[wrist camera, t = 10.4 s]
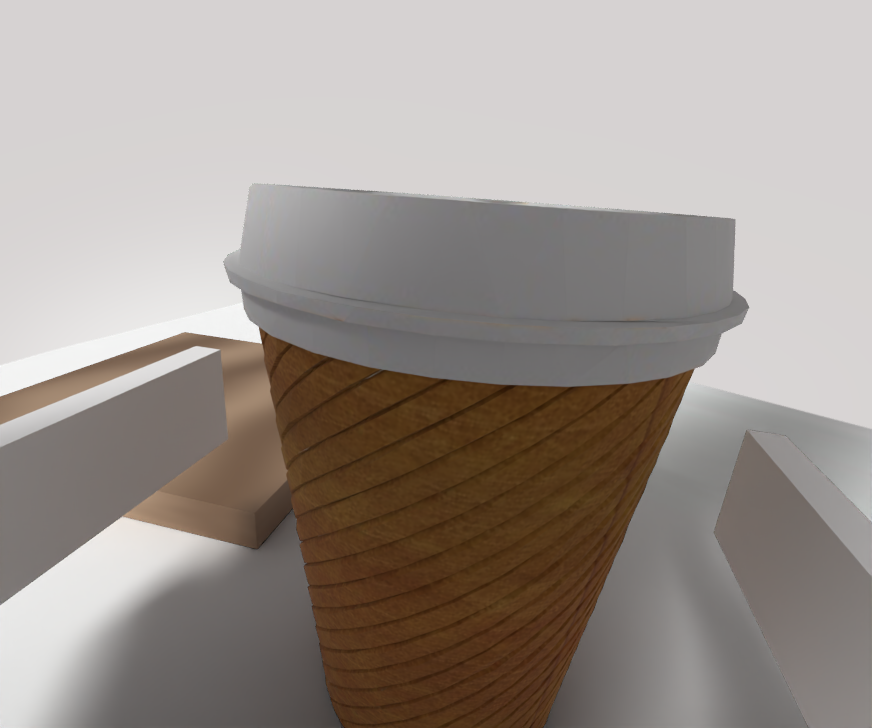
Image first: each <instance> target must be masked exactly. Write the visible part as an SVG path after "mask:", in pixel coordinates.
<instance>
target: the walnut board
mask: <svg viewBox="0 0 872 728" xmlns="http://www.w3.org/2000/svg"><path fill="white" fill-rule="evenodd" d="M195 346H199V347H206V348H212V349H219V350H220V351H221V362H222V374H223V385H224V397H225V408H226V419H227V431H228V440H226V441H225V442H224V443H222V444H221V445H219V446H218V447H217V448H215V449H214V450H213V451H211V452H210V453H208V454H207V455H206V456H204V457H203V458H202V459H200V460H199V461H197V462H196V463H195V464H193V465H192V466H191V467H189V468H188V469H186V470H185V471H184V472H182V473H181V474H180V475H178V476H177V477H176V478H174V479H173V480H171V481H170V482H169V483H167V484H166V485H165V486H163V487H162V488H160V489H159V490H158V491H156V492H155V493H154V494H152V495H151V496H149V497H148V498H147V499H145V500H144V501H143V502H141V503H140V504H138V505H137V506H136V507H134V508H133V509H132V510H130V511H129V512H127V513H126V514H125V515H123V517H128V518H132V519H136V520H140V521H144V522H148V523H152V524H156V525H160V526H164V527H168V528H172V529H177V530H181V531H185V532H189V533H193V534H197V535H201V536H205V537H209V538H213V539H217V540H221V541H225V542H230V543H234V544H238V545H242V546H246V547H250V548H254V549H258V548H259V547H260V546H261V544H262V543H263V542H264V541H265V540H266V539H267V537H268V536H269V535H270V534H271V533H272V532H273V531H274V529H275V528H276V527H277V526H278V525H279V524H280V522H281V521H282V520H283V519H284V518H285V517H286V515H287V514H288V513H289V512H290V511H291V510H292V509H293V506H292V503H291V497H292V495H291V492H290V488H289V484H288V480H287V477H286V474H287V471H288V470H287V469H286V467H285V463H284V459H283V455H282V451H281V447H282V444H281V440H280V436H279V432H278V428H277V424H276V413H275V409H274V405H273V401H272V397H271V393H270V388H271V386H270V382H269V378H268V374H267V370H266V366H265V362H264V350H263V345H262V344H260V343H253V342H246V341H240V340H233V339H226V338H220V337H213V336H206V335H200V334H193V333H186V332H184V333H181V334H179V335H176V336H173V337H170V338H167V339H164V340H161V341H159V342H156V343H153V344H150V345H147V346H144V347H141V348H138V349H136V350H133V351H130V352H127V353H124V354H121V355H118V356H116V357H113V358H110V359H107V360H104V361H101V362H98V363H95V364H93V365H90V366H87V367H84V368H81V369H78V370H75V371H73V372H70V373H67V374H64V375H61V376H58V377H55V378H53V379H50V380H47V381H44V382H41V383H38V384H35V385H32V386H30V387H27V388H24V389H21V390H18V391H15V392H12V393H10V394H7V395H4V396H1V397H0V425H1V424H3V423H6V422H8V421H11V420H13V419H16V418H18V417H21V416H23V415H26V414H28V413H31V412H33V411H36V410H38V409H41V408H43V407H46V406H48V405H51V404H53V403H56V402H58V401H60V400H63V399H65V398H68V397H70V396H73V395H75V394H78V393H80V392H83V391H85V390H88V389H90V388H93V387H95V386H98V385H100V384H103V383H105V382H108V381H110V380H113V379H115V378H118V377H120V376H123V375H125V374H128V373H130V372H133V371H135V370H138V369H140V368H142V367H145V366H147V365H150V364H152V363H155V362H157V361H160V360H162V359H165V358H167V357H170V356H172V355H175V354H177V353H180V352H182V351H185V350H187V349H190V348H192V347H195Z"/></svg>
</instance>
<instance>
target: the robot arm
mask: <svg viewBox="0 0 872 728" xmlns="http://www.w3.org/2000/svg"><path fill="white" fill-rule="evenodd" d="M226 440H228V431H227V419H226V408H225V397H224V385H223V374H222V362H221V351H220V350H219V349H212V348H206V347H199V346H195V347H192V348H190V349H187V350H185V351H182V352H180V353H177V354H175V355H172V356H170V357H167V358H165V359H162V360H160V361H157V362H155V363H152V364H150V365H147V366H145V367H142V368H140V369H138V370H135V371H133V372H130V373H128V374H125V375H123V376H120V377H118V378H115V379H113V380H110V381H108V382H105V383H103V384H100V385H98V386H95V387H93V388H90V389H88V390H85V391H83V392H80V393H78V394H75V395H73V396H70V397H68V398H65V399H63V400H60V401H58V402H56V403H53V404H51V405H48V406H46V407H43V408H41V409H38V410H36V411H33V412H31V413H28V414H26V415H23V416H21V417H18V418H16V419H13V420H11V421H8V422H6V423H3V424H1V425H0V605H1V604H3V603H4V602H5V601H7V600H8V599H9V598H11V597H12V596H13V595H15V594H16V593H18V592H19V591H20V590H22V589H23V588H24V587H26V586H27V585H29V584H30V583H31V582H33V581H34V580H35V579H37V578H38V577H40V576H41V575H42V574H44V573H45V572H46V571H48V570H49V569H51V568H52V567H53V566H55V565H56V564H57V563H59V562H60V561H62V560H63V559H64V558H66V557H67V556H68V555H70V554H71V553H73V552H74V551H75V550H77V549H78V548H79V547H81V546H82V545H84V544H85V543H86V542H88V541H89V540H90V539H92V538H93V537H95V536H96V535H97V534H99V533H100V532H101V531H103V530H104V529H105V528H107V527H108V526H110V525H111V524H112V523H114V522H115V521H116V520H118V519H119V518H121V517H122V516H123V515H125V514H126V513H127V512H129V511H130V510H132V509H133V508H134V507H136V506H137V505H138V504H140V503H141V502H143V501H144V500H145V499H147V498H148V497H149V496H151V495H152V494H154V493H155V492H156V491H158V490H159V489H160V488H162V487H163V486H165V485H166V484H167V483H169V482H170V481H171V480H173V479H174V478H176V477H177V476H178V475H180V474H181V473H182V472H184V471H185V470H186V469H188V468H189V467H191V466H192V465H193V464H195V463H196V462H197V461H199V460H200V459H202V458H203V457H204V456H206V455H207V454H208V453H210V452H211V451H213V450H214V449H215V448H217V447H218V446H219V445H221V444H222V443H224V442H225V441H226ZM714 534H715V536H716V538H717V540H718V542H719V544H720V546H721V548H722V550H723V552H724V554H725V556H726V559H727V561H728V563H729V565H730V567H731V569H732V571H733V573H734V575H735V577H736V579H737V581H738V583H739V585H740V587H741V590H742V592H743V594H744V596H745V598H746V600H747V602H748V604H749V606H750V608H751V610H752V612H753V614H754V616H755V618H756V620H757V623H758V625H759V627H760V629H761V631H762V633H763V635H764V637H765V639H766V641H767V643H768V645H769V647H770V649H771V651H772V654H773V656H774V658H775V660H776V662H777V664H778V666H779V668H780V670H781V672H782V674H783V676H784V678H785V680H786V682H787V684H788V687H789V689H790V691H791V693H792V695H793V697H794V699H795V701H796V703H797V705H798V707H799V709H800V711H801V713H802V715H803V718H804V720H805V722H806V724H807V726H808V728H872V522H871V521H870V520H869V519H868V518H867V517H866V516H865V515H864V514H863V513H862V512H861V511H860V510H859V509H858V508H857V507H856V506H855V505H854V504H853V503H852V502H851V501H850V500H849V499H848V498H847V497H846V496H845V495H844V494H843V493H842V492H841V491H840V490H839V489H838V488H837V487H836V486H835V485H834V484H833V483H832V482H831V481H830V480H829V479H828V478H827V477H826V476H825V475H824V474H823V473H822V472H821V471H820V470H819V469H818V468H817V467H816V466H815V465H814V464H813V463H812V462H811V461H810V460H809V459H808V458H807V457H806V456H805V455H804V454H803V453H802V452H801V451H800V450H799V449H798V448H797V447H796V446H795V445H794V444H793V443H792V442H791V441H790V440H789V439H788V438H787V437H786V436H785V435H779V434H773V433H766V432H760V431H753V430H746V433H745V437H744V440H743V443H742V446H741V449H740V452H739V455H738V458H737V461H736V465H735V468H734V471H733V474H732V477H731V480H730V483H729V486H728V489H727V492H726V496H725V499H724V502H723V505H722V508H721V511H720V514H719V517H718V520H717V524H716V527H715V530H714Z"/></svg>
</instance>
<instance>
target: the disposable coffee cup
mask: <svg viewBox="0 0 872 728" xmlns="http://www.w3.org/2000/svg"><path fill="white" fill-rule="evenodd" d="M734 245H735V219H730V218H719V217H707V216H695V215H682V214H670V213H658V212H644V211H632V210H620V209H608V208H594V207H581V206H568V205H554V204H541V203H529V202H515V201H503V200H489V199H476V198H462V197H448V196H434V195H421V194H408V193H393V192H378V191H364V190H349V189H334V188H318V187H305V186H304V187H303V186H290V185H275V184H252V185H251V186H250V188H249V194H248V201H247V209H246V215H245V222H244V228H243V235H242V243H241V249H239V250H237V251H235V252H233V253H230V254H228V255H227V257H226V258H225V260H224V261H223V262H224V266H225V269H226V272H227V275H228V278H229V281H230V283H232V284H233V285H235V286H236V287H238V288H239V289H241V291H242V298H243V305H244V310H245V312H246V314H247V316H248V318H249V320H250V321H252V322H253V323H255V324H256V325H257V326H259V331H260V335H261V340H262V345H263V350H264V362H265V366H266V370H267V374H268V378H269V382H270V386H271V388H270V393H271V397H272V401H273V405H274V409H275V413H276V424H277V428H278V432H279V436H280V440H281V444H282V447H281V451H282V455H283V459H284V463H285V467H286V469H287V470H288V471H287V474H286V477H287V480H288V484H289V488H290V492H291V495H292V497H291V503H292V506H293V510H294V513H295V517H296V518H297V526H296V530H297V533H298V536H299V539H300V541H303V542H302V543H301V544H300V548H301V552H302V556H303V560H304V562H305V563H307V564H306V565H305V566H304V569H305V573H306V577H307V581H308V583H309V586H308V590H309V594H310V597H311V601H312V604H313V606H312V610H313V614H314V618H315V621H316V630H317V634H318V638H319V641H320V643H319V646H320V650H321V655H322V659H323V666H324V671H325V678H326V686H327V689H328V692H329V695H330V698H331V702H332V705H333V708H334V711H335V712H336V714H337V716H338V718H339V720H340V721H341V723H342V725H343V727H344V728H543V727H544V725H545V723H546V721H547V718H548V715H549V713H550V710H551V707H552V705H553V703H554V700H555V698H556V695H557V693H558V691H559V688H560V686H561V684H562V681H563V678H564V676H565V674H566V672H567V670H568V668H569V666H570V663H571V660H572V657H573V655H574V653H575V651H576V649H577V647H578V644H579V641H580V638H581V636H582V634H583V632H584V630H585V628H586V625H587V622H588V620H589V618H590V616H591V614H592V612H593V610H594V608H595V605H596V602H597V599H598V597H599V595H600V592H601V590H602V588H603V586H604V583H605V580H606V577H607V575H608V573H609V571H610V569H611V567H612V564H613V561H614V558H615V556H616V554H617V552H618V550H619V548H620V546H621V544H622V542H623V539H624V536H625V533H626V530H627V527H628V525H629V522H630V520H631V518H632V516H633V514H634V511H635V509H636V507H637V505H638V503H639V500H640V498H641V496H642V494H643V492H644V490H645V487H646V484H647V481H648V479H649V476H650V474H651V472H652V470H653V468H654V466H655V464H656V461H657V459H658V456H659V453H660V450H661V448H662V446H663V444H664V442H665V440H666V438H667V436H668V433H669V430H670V427H671V424H672V421H673V418H674V416H675V414H676V411H677V409H678V407H679V405H680V403H681V400H682V397H683V395H684V392H685V389H686V387H687V385H688V382H689V380H690V378H691V376H692V373H693V371H694V369H695V368H697V367H700V366H703V365H704V364H705V363H706V362H707V361H708V360H709V359H710V358H711V357H712V356H713V355H714V354H715V352H716V349H717V346H718V343H719V340H720V337H721V334H722V333H723V332H726V331H728V330H730V329H732V328H734V327H736V326H738V325H740V324H742V322H743V320H744V317H745V315H746V313H747V311H748V309H749V306H748V304H747V302H746V300H745V299H744V298H743V297H742V296H741V295H739V294H738V293H737V292H735V291H733V272H734Z"/></svg>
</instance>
